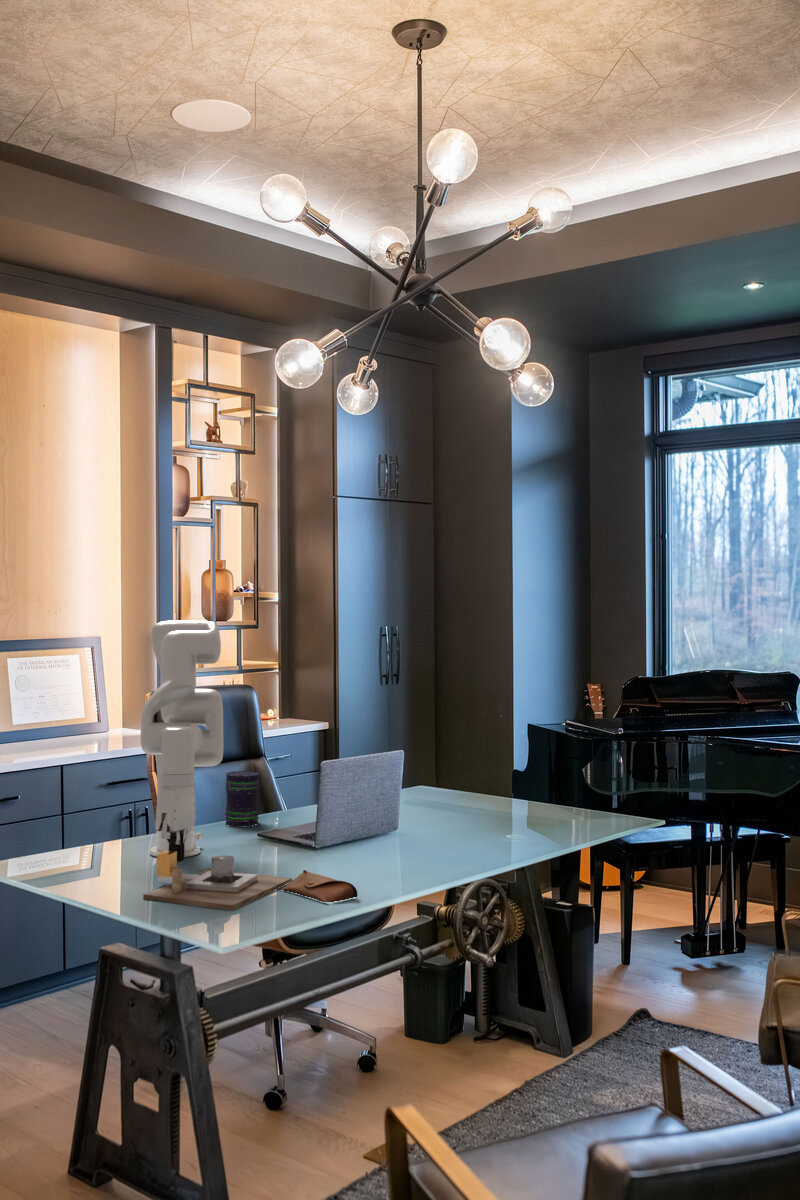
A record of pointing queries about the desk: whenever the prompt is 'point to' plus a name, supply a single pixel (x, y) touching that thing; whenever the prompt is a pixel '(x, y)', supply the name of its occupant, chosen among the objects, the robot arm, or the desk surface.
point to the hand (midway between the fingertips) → (176, 860)
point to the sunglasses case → (321, 887)
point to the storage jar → (242, 798)
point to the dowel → (176, 881)
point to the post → (222, 869)
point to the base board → (219, 893)
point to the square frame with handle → (199, 876)
